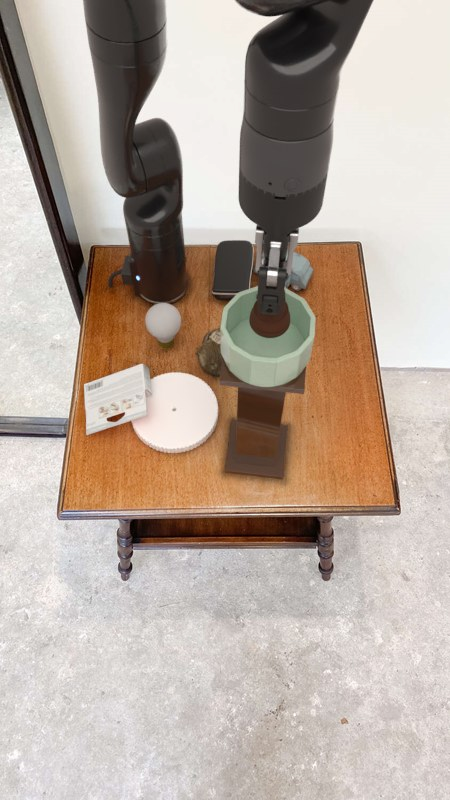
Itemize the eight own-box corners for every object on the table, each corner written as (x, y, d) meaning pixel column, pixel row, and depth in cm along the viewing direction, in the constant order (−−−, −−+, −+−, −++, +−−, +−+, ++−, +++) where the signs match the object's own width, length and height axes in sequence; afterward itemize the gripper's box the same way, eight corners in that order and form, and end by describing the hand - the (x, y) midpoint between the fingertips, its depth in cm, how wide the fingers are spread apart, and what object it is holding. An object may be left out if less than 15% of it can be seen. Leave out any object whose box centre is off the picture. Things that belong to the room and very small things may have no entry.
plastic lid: (224, 448, 102) (224, 441, 100) (136, 462, 101) (134, 455, 99) (211, 374, 109) (211, 366, 107) (128, 386, 108) (126, 378, 106)
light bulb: (164, 365, 110) (158, 330, 102) (142, 344, 113) (135, 308, 104) (190, 346, 112) (187, 311, 104) (169, 325, 115) (164, 289, 106)
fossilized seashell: (234, 315, 113) (185, 345, 111) (240, 311, 106) (188, 343, 105) (256, 352, 113) (208, 382, 112) (264, 351, 107) (212, 383, 106)
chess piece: (246, 336, 72) (249, 277, 64) (252, 300, 75) (256, 239, 66) (287, 341, 72) (296, 283, 63) (292, 305, 74) (301, 244, 66)
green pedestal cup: (219, 476, 100) (215, 356, 71) (227, 417, 105) (227, 281, 76) (287, 484, 100) (312, 366, 70) (292, 424, 105) (317, 290, 76)
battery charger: (251, 303, 117) (256, 251, 122) (249, 291, 114) (254, 238, 118) (213, 303, 118) (219, 252, 123) (210, 291, 115) (216, 239, 119)
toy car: (262, 260, 122) (263, 242, 118) (312, 277, 120) (315, 259, 116) (249, 285, 119) (250, 267, 115) (300, 302, 117) (303, 284, 113)
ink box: (150, 368, 105) (155, 420, 101) (90, 389, 108) (93, 441, 104) (143, 361, 103) (148, 414, 99) (82, 382, 106) (85, 435, 102)
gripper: (248, 101, 58) (244, 237, 73) (229, 218, 51) (228, 342, 66) (332, 107, 57) (311, 243, 72) (325, 226, 50) (302, 349, 65)
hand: (271, 289), depth 69 cm, fingers closed on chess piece, 5 cm apart
